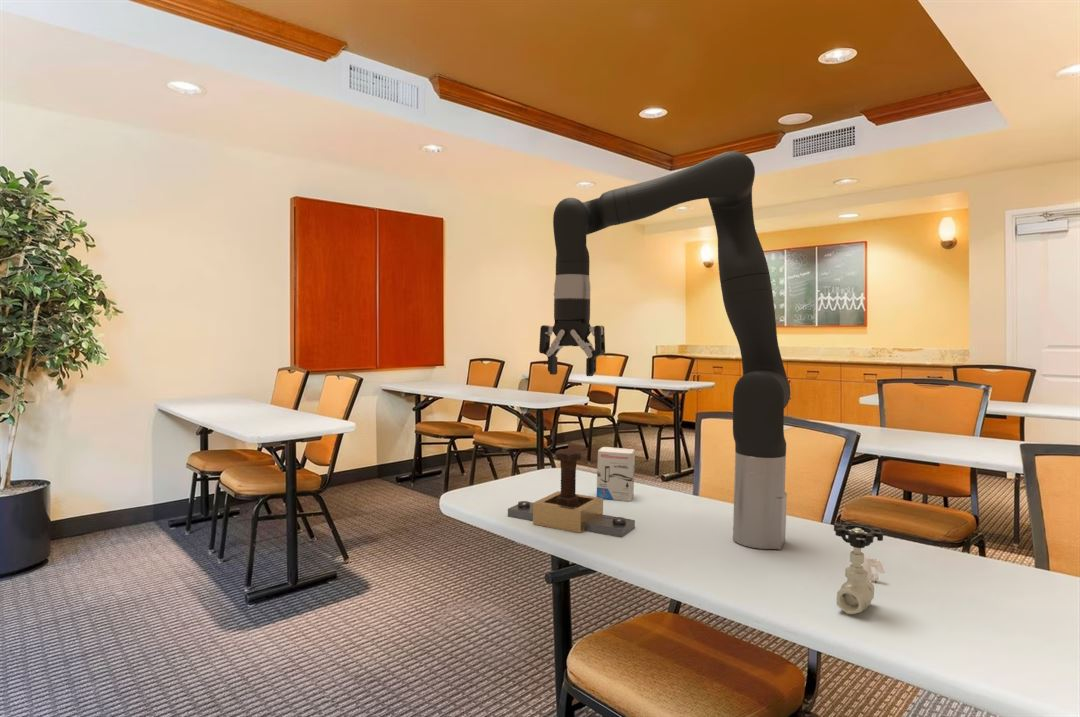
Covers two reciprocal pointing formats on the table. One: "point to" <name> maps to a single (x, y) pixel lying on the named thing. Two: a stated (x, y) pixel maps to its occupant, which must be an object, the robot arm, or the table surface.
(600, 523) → the gray knob plate
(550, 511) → the square wooden frame
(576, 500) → the bolt
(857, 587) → the valve
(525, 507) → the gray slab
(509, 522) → the table surface
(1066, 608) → the table surface
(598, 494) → the ink box
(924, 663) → the table surface
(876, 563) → the clip
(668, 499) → the table surface
